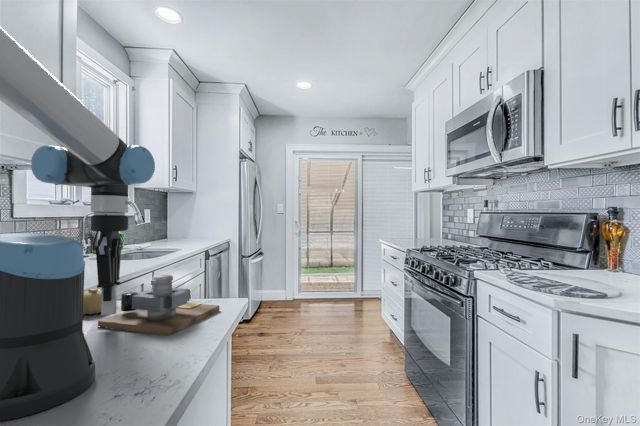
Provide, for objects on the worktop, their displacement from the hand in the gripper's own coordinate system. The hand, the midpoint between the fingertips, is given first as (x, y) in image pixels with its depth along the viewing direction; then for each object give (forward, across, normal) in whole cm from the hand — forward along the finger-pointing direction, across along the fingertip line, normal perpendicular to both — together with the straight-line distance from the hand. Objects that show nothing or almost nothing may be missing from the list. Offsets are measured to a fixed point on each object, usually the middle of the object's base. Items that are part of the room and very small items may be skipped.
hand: (108, 313), depth 77 cm
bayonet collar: (+1, +2, -9) cm, 9 cm away
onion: (+4, +15, +8) cm, 17 cm away
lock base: (+3, +4, -11) cm, 12 cm away
